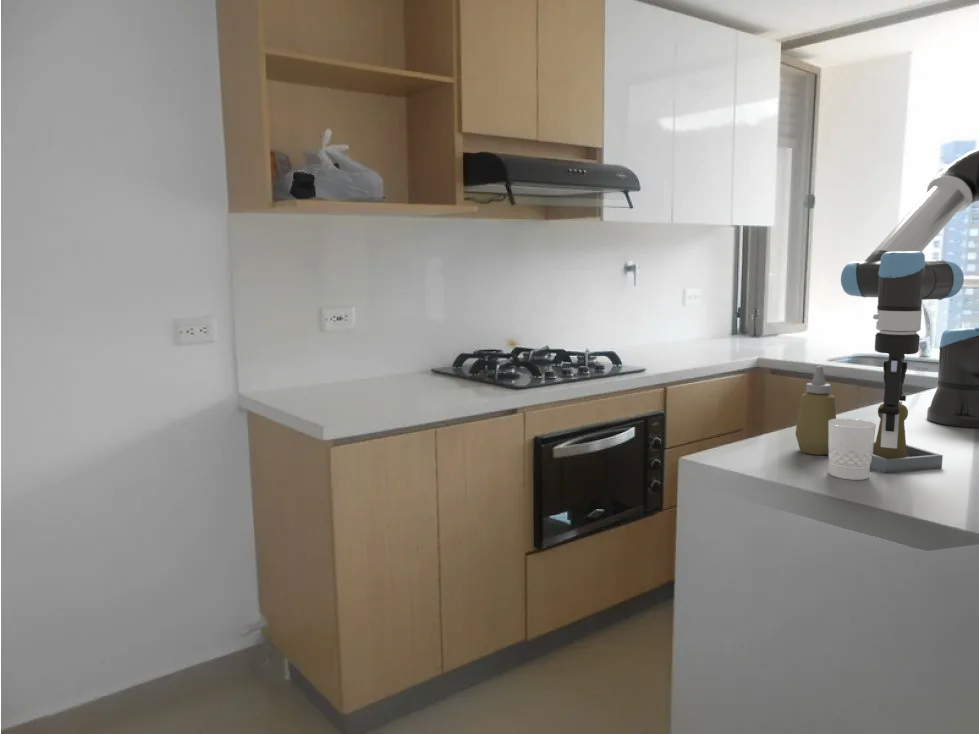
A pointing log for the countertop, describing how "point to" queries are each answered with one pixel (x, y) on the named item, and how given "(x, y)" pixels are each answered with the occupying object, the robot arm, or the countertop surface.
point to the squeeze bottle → (815, 415)
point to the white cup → (850, 448)
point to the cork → (901, 441)
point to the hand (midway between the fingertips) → (890, 439)
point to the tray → (907, 461)
